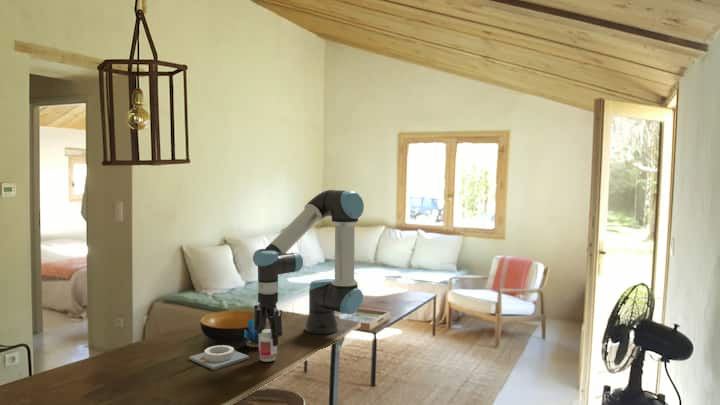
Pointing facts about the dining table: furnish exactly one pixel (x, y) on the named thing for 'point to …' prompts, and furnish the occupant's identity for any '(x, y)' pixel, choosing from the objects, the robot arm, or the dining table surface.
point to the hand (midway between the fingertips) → (267, 351)
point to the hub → (218, 357)
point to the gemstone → (252, 335)
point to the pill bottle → (266, 346)
